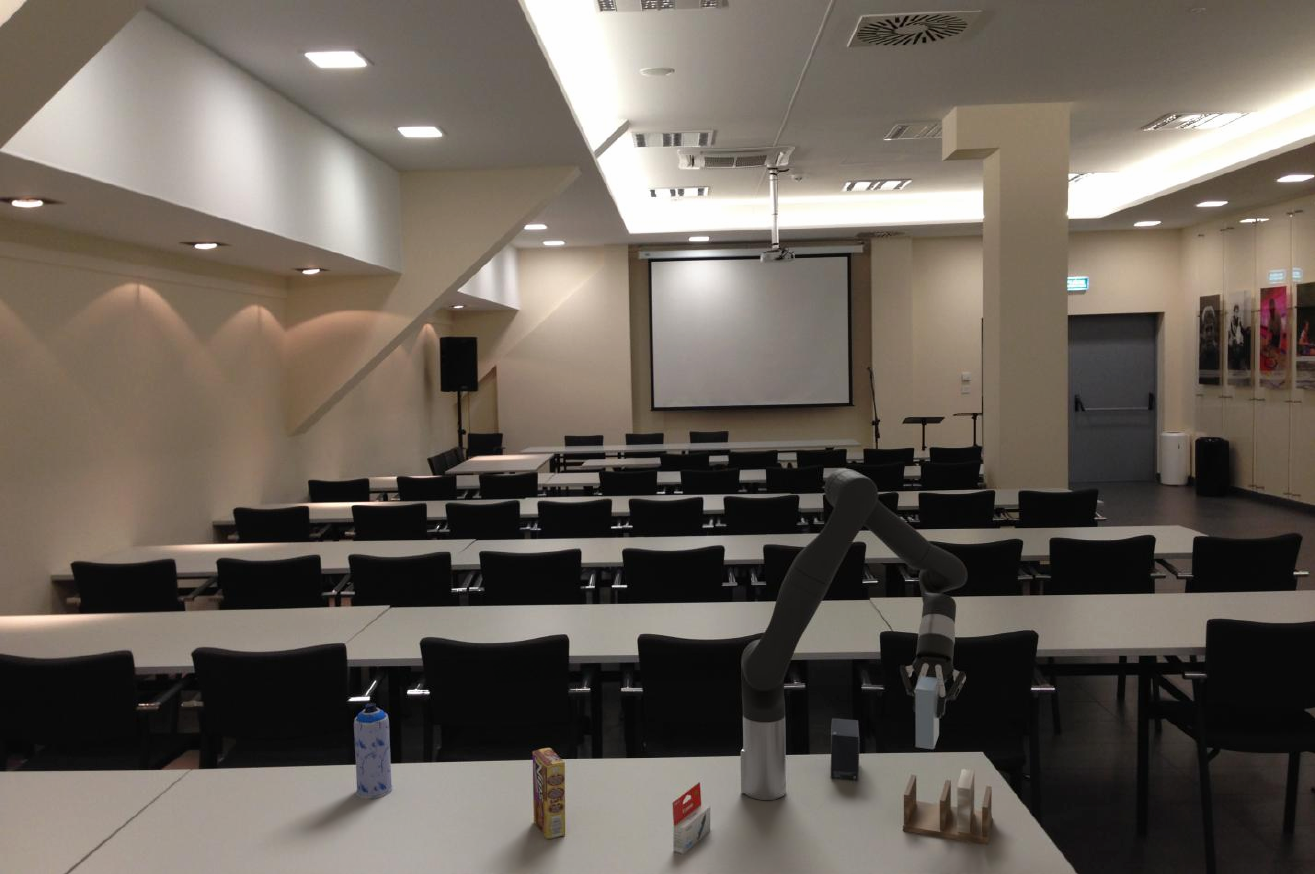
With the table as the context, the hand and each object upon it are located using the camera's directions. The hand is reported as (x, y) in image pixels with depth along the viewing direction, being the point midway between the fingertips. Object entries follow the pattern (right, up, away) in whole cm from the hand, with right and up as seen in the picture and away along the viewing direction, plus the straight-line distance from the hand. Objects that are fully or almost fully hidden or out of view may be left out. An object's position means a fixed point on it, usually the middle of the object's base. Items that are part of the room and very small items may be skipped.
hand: (928, 715), depth 195 cm
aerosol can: (-119, -23, +20) cm, 123 cm away
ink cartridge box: (-48, -24, -5) cm, 54 cm away
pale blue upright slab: (0, -5, -1) cm, 5 cm away
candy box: (-77, -24, +1) cm, 81 cm away
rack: (+4, -22, -1) cm, 22 cm away
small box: (-12, -21, +25) cm, 35 cm away
